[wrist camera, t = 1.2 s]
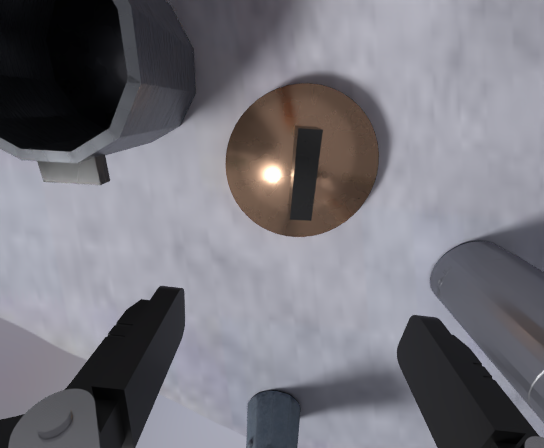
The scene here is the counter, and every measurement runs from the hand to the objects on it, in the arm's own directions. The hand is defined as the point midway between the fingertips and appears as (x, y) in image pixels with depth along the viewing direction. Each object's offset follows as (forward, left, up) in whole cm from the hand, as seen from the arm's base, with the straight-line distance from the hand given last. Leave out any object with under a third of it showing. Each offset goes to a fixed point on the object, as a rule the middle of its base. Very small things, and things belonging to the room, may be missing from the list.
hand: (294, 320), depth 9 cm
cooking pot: (+15, -9, -20) cm, 27 cm away
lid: (-2, -1, -21) cm, 21 cm away
